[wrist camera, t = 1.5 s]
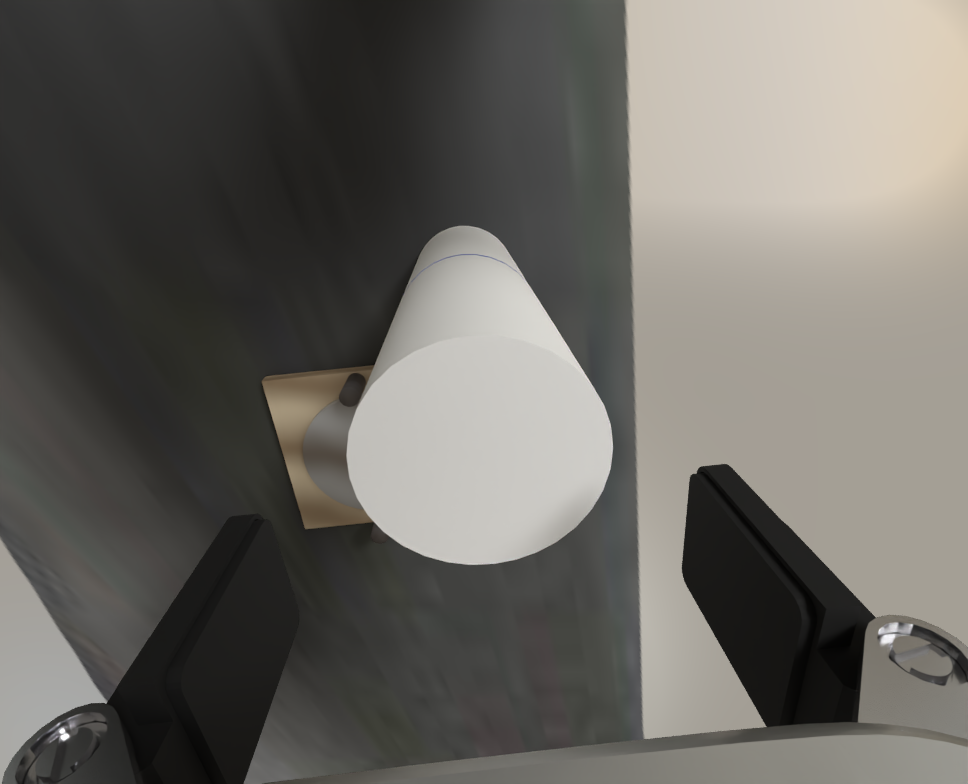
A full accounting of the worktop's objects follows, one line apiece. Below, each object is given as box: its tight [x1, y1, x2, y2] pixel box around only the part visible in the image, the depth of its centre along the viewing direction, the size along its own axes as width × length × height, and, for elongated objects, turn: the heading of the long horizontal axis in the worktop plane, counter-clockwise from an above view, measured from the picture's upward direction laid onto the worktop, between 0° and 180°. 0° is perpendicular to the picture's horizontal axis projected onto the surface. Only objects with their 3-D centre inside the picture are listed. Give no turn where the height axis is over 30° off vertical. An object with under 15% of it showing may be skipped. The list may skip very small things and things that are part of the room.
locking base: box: [262, 365, 389, 544], centre depth 40 cm, size 14×14×4 cm
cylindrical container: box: [346, 226, 613, 565], centre depth 25 cm, size 7×7×25 cm
